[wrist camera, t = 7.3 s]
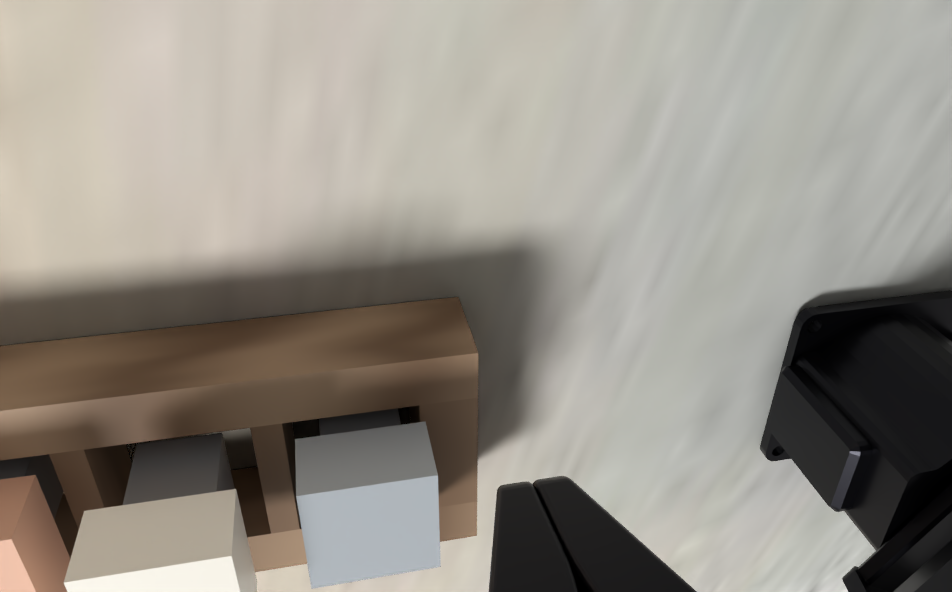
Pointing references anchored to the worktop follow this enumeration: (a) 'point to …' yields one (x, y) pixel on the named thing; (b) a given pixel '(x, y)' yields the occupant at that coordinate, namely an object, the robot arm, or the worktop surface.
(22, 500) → the key terracotta
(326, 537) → the key slate
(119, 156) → the worktop surface
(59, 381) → the key panel
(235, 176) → the worktop surface
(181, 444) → the key ivory
